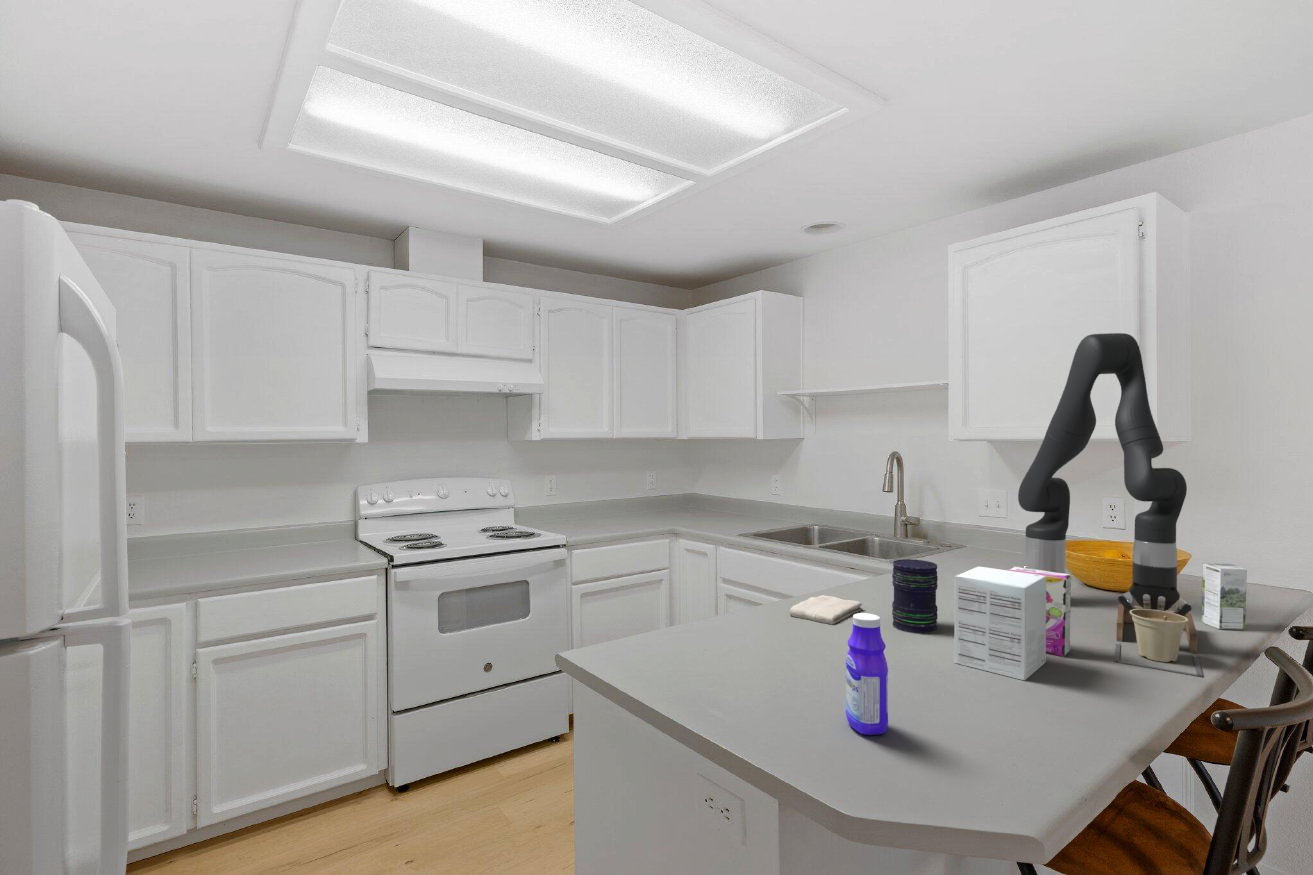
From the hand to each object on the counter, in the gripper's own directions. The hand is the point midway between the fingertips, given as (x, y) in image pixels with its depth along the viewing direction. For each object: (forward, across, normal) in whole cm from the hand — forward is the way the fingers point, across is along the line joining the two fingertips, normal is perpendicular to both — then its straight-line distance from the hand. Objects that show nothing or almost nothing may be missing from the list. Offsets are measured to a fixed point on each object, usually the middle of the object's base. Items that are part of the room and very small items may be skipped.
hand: (1153, 643), depth 138 cm
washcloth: (+2, -66, -17) cm, 68 cm away
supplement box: (+1, -24, -30) cm, 39 cm away
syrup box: (+1, +13, +27) cm, 30 cm away
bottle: (+1, -36, -73) cm, 81 cm away
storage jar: (+1, -44, -16) cm, 47 cm away
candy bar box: (+1, -20, -16) cm, 25 cm away
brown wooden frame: (+1, 0, +9) cm, 9 cm away
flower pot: (+1, +1, -7) cm, 7 cm away
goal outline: (+1, 0, -9) cm, 9 cm away
